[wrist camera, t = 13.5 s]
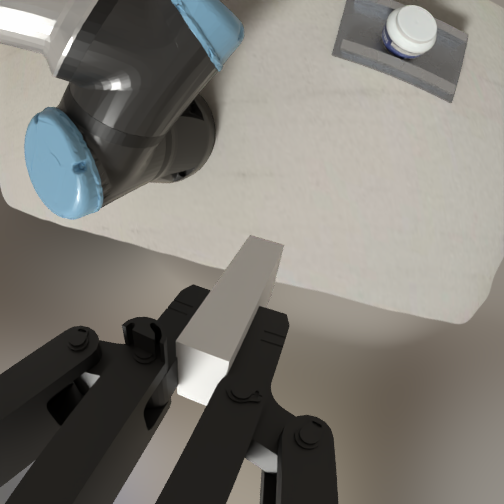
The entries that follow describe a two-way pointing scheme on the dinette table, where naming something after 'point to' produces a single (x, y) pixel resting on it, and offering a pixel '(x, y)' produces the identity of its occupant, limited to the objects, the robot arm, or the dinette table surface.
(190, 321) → the robot arm
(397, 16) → the pill bottle
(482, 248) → the dinette table surface
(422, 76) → the rail channel
